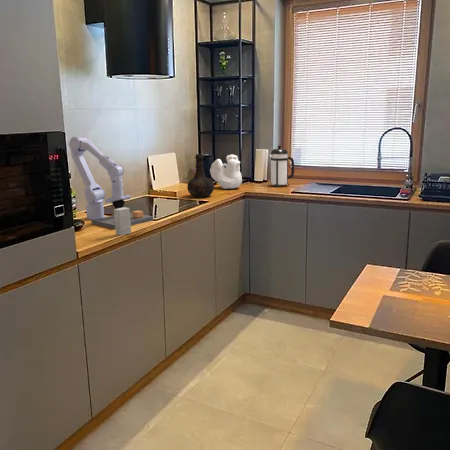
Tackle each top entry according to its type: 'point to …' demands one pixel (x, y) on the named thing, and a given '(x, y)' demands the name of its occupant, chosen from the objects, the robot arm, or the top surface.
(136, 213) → the block
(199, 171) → the dark brown vase
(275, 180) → the coffee press
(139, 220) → the dark grey slab
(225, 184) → the decorative rooster
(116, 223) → the skincare box
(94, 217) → the robot arm
